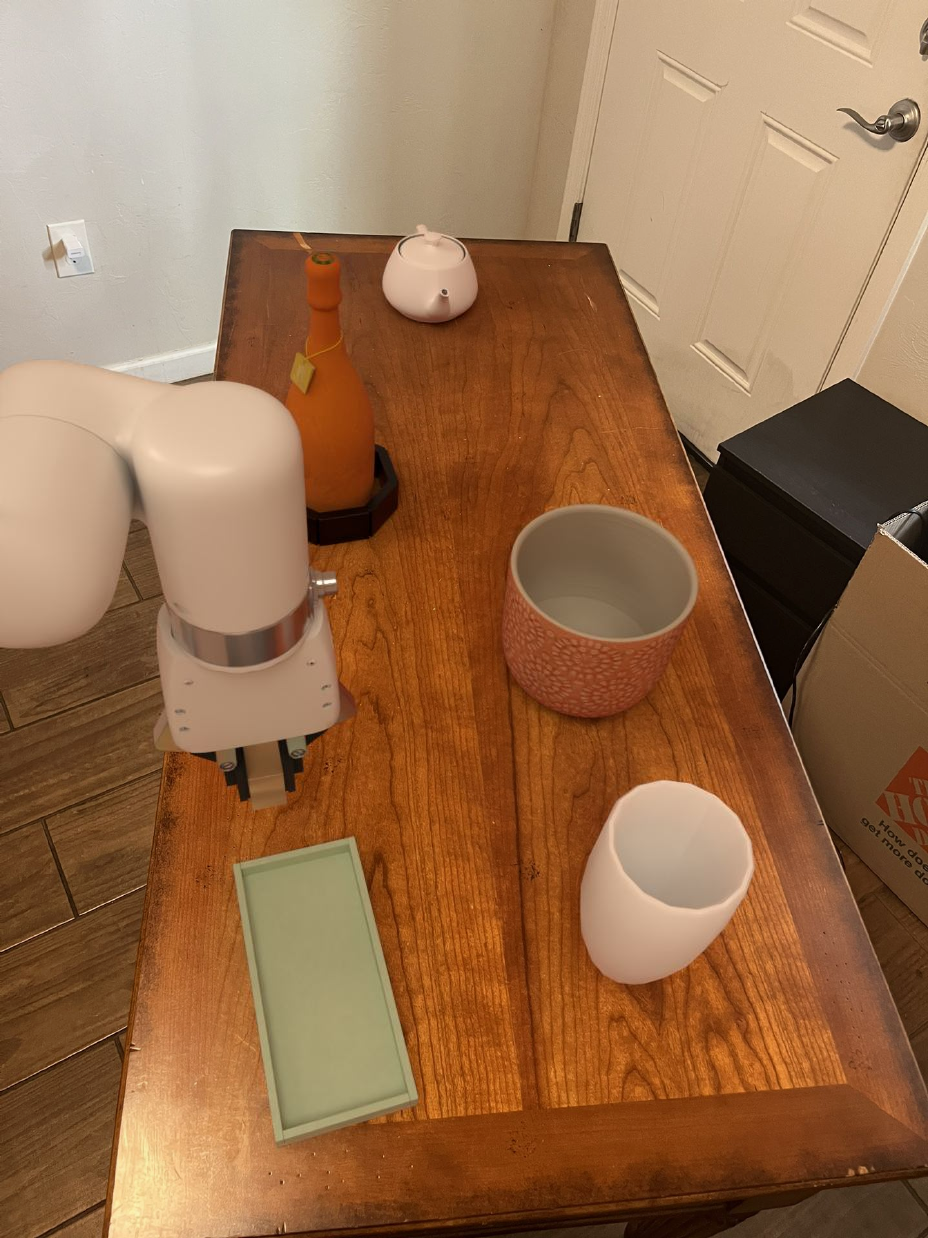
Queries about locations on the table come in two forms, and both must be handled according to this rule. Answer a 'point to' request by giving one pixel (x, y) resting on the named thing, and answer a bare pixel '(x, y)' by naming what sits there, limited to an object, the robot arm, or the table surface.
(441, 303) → the teapot
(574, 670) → the planter
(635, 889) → the cup
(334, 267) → the wine bottle
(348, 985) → the tray
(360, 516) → the bottle stand
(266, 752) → the brush
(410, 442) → the table surface
